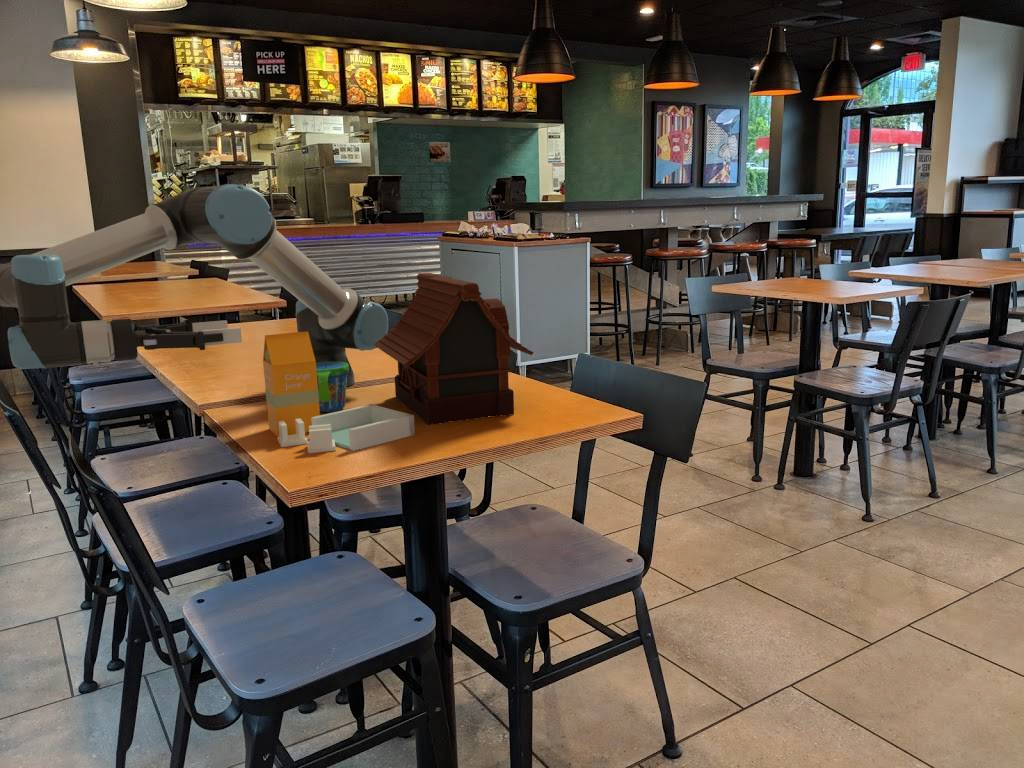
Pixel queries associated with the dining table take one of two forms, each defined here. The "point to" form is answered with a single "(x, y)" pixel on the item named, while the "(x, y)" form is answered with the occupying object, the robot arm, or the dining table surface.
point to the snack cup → (332, 385)
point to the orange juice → (290, 380)
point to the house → (452, 352)
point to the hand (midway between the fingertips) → (234, 330)
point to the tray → (367, 426)
